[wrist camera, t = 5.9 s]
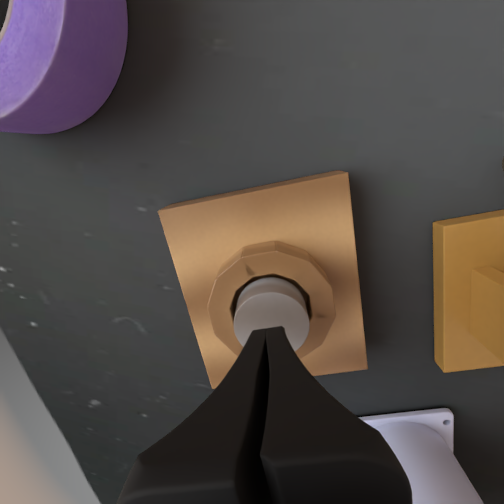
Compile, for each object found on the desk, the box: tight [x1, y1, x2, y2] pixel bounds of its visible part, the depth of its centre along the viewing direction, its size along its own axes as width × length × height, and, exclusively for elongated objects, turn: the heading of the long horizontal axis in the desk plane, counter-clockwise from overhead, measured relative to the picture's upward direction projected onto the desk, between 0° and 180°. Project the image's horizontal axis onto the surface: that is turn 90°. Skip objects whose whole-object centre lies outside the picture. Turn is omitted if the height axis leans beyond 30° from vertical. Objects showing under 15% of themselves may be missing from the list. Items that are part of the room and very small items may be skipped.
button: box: [234, 277, 310, 351], centre depth 15 cm, size 4×4×2 cm
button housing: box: [158, 170, 368, 389], centre depth 17 cm, size 12×10×4 cm
